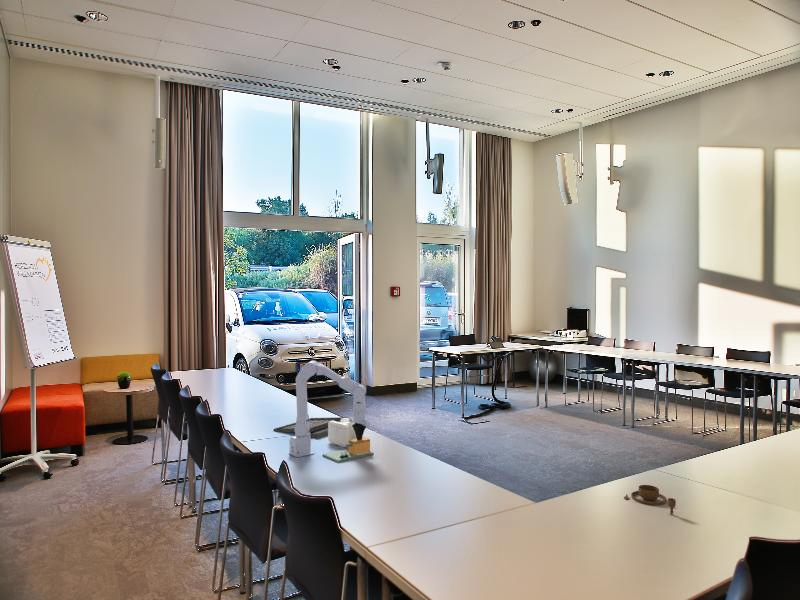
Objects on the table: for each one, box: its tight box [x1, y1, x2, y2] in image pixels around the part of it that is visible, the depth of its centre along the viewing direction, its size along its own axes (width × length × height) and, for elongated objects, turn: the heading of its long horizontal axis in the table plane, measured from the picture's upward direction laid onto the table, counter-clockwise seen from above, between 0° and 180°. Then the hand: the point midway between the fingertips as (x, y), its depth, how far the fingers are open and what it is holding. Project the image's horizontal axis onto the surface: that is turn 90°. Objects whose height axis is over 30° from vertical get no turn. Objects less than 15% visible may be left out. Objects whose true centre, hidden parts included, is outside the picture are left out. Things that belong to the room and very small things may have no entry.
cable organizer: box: [327, 417, 357, 448], centre depth 285 cm, size 15×11×12 cm
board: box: [322, 448, 374, 463], centre depth 264 cm, size 20×13×1 cm, turn 130°
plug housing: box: [345, 436, 371, 455], centre depth 265 cm, size 12×5×6 cm, turn 130°
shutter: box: [273, 416, 347, 440], centre depth 316 cm, size 32×7×31 cm
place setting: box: [623, 484, 677, 516], centre depth 205 cm, size 18×20×6 cm
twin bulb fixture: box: [340, 450, 349, 458], centre depth 258 cm, size 4×1×3 cm, turn 130°
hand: (359, 439), depth 266 cm, fingers closed
